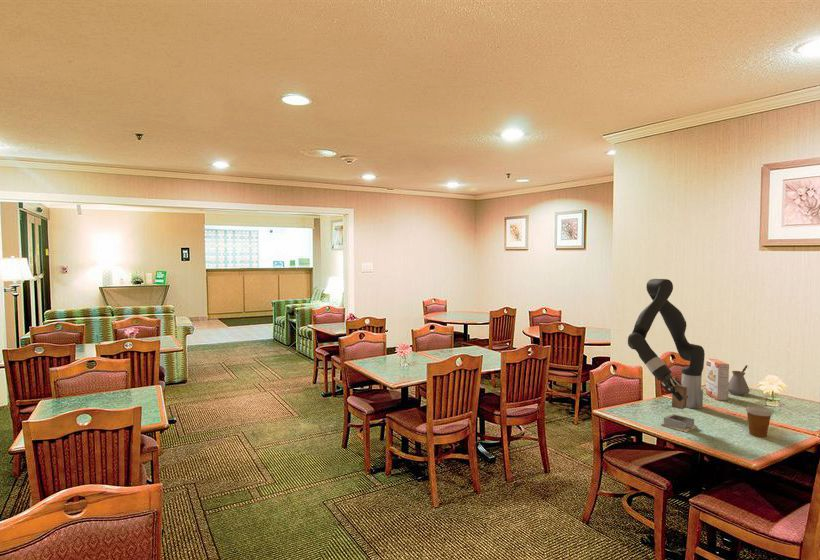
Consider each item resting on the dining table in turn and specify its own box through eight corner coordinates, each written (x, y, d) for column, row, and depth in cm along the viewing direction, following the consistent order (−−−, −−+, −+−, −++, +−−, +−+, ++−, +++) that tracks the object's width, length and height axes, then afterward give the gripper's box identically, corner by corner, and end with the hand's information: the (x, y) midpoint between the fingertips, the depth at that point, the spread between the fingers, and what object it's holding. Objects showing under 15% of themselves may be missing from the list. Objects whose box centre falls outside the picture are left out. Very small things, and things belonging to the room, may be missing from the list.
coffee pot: (745, 397, 272) (746, 371, 271) (722, 393, 281) (723, 368, 280) (757, 391, 285) (758, 366, 285) (735, 387, 294) (736, 363, 294)
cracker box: (704, 393, 279) (706, 358, 279) (715, 394, 279) (717, 358, 278) (716, 400, 266) (718, 363, 265) (728, 401, 265) (729, 363, 264)
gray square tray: (671, 420, 231) (672, 413, 231) (696, 427, 222) (696, 419, 222) (661, 425, 224) (661, 417, 224) (686, 432, 215) (686, 424, 215)
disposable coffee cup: (762, 440, 207) (763, 412, 206) (740, 432, 215) (741, 406, 215) (776, 437, 210) (777, 410, 210) (753, 430, 219) (754, 404, 219)
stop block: (676, 405, 226) (677, 384, 226) (686, 407, 222) (687, 386, 222) (671, 406, 223) (672, 385, 223) (682, 409, 220) (682, 387, 219)
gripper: (657, 365, 224) (683, 397, 214) (670, 362, 232) (696, 392, 223) (645, 374, 228) (670, 406, 219) (659, 370, 237) (684, 400, 228)
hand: (683, 399), depth 221 cm, fingers closed on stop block, 4 cm apart
